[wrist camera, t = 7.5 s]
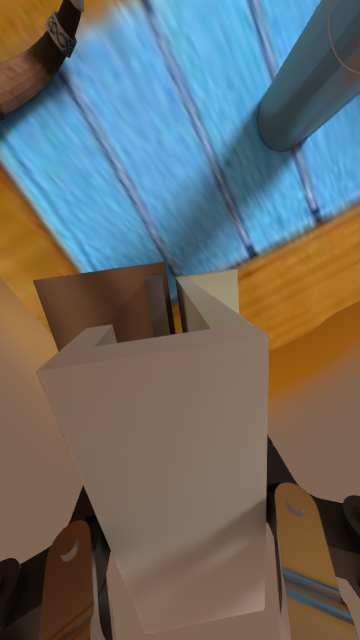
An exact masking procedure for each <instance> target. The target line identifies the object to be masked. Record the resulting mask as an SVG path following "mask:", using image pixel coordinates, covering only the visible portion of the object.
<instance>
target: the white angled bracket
mask: <svg viewBox="0 0 360 640" xmlns="http://www.w3.org/2000/svg"><path fill="white" fill-rule="evenodd" d="M175 279H176V287H177V294H178V301H179V309H180V316H181V324H182V331H183V333H181V334H175V335H168V336H161V337H155V338H148V339H142V340H135V341H128V342H122V343H117V341H116V337H115V333H114V329H113V325H105V326H98V327H91V328H86V329H85V330H84V331H83V332H81V333H80V334H79V335H78V336H77V337H76V338H74V339H73V340H72V341H71V342H70V343H69V344H67V345H66V346H65V347H64V348H63V349H62V350H60V351H59V352H58V353H57V354H56V355H55V356H54V357H52V358H51V359H50V360H49V361H48V362H47V363H45V364H44V365H43V366H42V367H41V368H40V369H38V370H37V371H36V373H37V375H38V378H39V380H40V382H41V385H42V387H43V390H44V392H45V394H46V397H47V399H48V401H49V404H50V406H51V409H52V411H53V413H54V416H55V418H56V421H57V423H58V425H59V428H60V430H61V433H62V435H63V437H64V440H65V442H66V444H67V447H68V449H69V452H70V454H71V456H72V459H73V461H74V464H75V466H76V468H77V471H78V473H79V476H80V478H81V480H82V483H83V485H84V488H85V490H86V492H87V495H88V497H89V500H90V502H91V504H92V507H93V509H94V512H95V514H96V516H97V519H98V521H99V523H100V526H101V528H102V531H103V533H104V535H105V538H106V540H107V543H108V545H109V547H110V550H111V552H112V554H113V557H114V559H115V562H116V564H117V566H118V569H119V571H120V574H121V576H122V578H123V581H124V583H125V586H126V588H127V590H128V593H129V595H130V598H131V600H132V602H133V605H134V607H135V610H136V612H137V614H138V617H139V619H140V622H141V624H142V626H143V629H144V631H145V634H150V633H155V632H160V631H164V630H169V629H174V628H179V627H184V626H188V625H193V624H198V623H203V622H207V621H212V620H217V619H222V618H227V617H232V616H236V615H241V614H246V613H250V612H255V611H260V610H264V608H265V549H266V547H265V546H266V486H267V421H268V420H267V419H268V357H269V356H268V354H269V335H267V334H266V333H264V332H263V331H262V330H260V329H259V328H257V327H256V326H255V325H253V324H252V323H250V322H249V321H247V320H246V319H245V318H243V317H242V316H240V315H239V298H238V270H235V269H229V270H222V271H215V272H208V273H201V274H193V275H186V276H179V277H175Z"/></svg>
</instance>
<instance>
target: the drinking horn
mask: <svg viewBox="0 0 360 640" xmlns="http://www.w3.org/2000/svg"><path fill="white" fill-rule="evenodd" d="M83 11H84V0H63V2H62V4H61V7H60V9H59V11H58V12H56V11H53V13H52V14H51V16H50V18H49V19H48V21H47V23H46V28H47V31H46V33H45V34H44V35H43V36H42V37H41V38H40V39H39V40H38V41H37V42H36V43H35V44H34V45H33V46H31V47H30V48H29V49H28V50H26V51H25V52H23V53H21V54H20V55H18V56H16V57H14V58H12V59H10V60H8V61H5V62H2V63H0V121H2V120H4V117H3V115H5V114H7V113H9V112H11V111H13V110H15V109H16V108H18V107H20V106H21V105H23V104H24V103H26V102H27V101H28V100H30V99H31V98H32V97H34V96H35V95H36V94H37V93H38V92H39V91H41V90H42V89H43V88H44V87H45V86H46V85H47V84H48V82H49V81H50V80H51V79H52V78H53V76H54V75H55V74H56V73H57V71H58V70H59V68H60V66H61V65H62V63H63V61H64V60H65V58H66V56H67V57H68V58H70V56H71V54H72V52H73V50H74V47H75V45H76V43H77V41H76V38H75V34H76V31H77V27H78V24H79V21H80V17H81V12H83Z"/></svg>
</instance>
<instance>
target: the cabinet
mask: <svg viewBox="0 0 360 640" xmlns="http://www.w3.org/2000/svg"><path fill="white" fill-rule="evenodd" d="M33 282H34V285H35V287H36V290H37V293H38V296H39V298H40V301H41V304H42V307H43V309H44V312H45V315H46V318H47V321H48V323H49V326H50V329H51V332H52V334H53V337H54V340H55V343H56V345H57V348H58V351H60V350H62V349H63V348H64V347H65V346H66V345H67V344H69V343H70V342H71V341H72V340H73V339H74V338H76V337H77V336H78V335H79V334H80V333H81V332H83V331H84V330H85V329H86V328H91V327H98V326H105V325H113V329H114V333H115V337H116V341H117V343H122V342H128V341H135V340H142V339H148V338H155V337H161V336H168V335H175V328H174V321H173V315H172V308H171V301H170V294H169V287H168V281H167V274H166V267H165V262H160V263H153V264H146V265H138V266H131V267H124V268H116V269H109V270H102V271H95V272H88V273H81V274H74V275H67V276H60V277H53V278H47V279H40V280H33Z"/></svg>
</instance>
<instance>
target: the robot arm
mask: <svg viewBox="0 0 360 640" xmlns="http://www.w3.org/2000/svg"><path fill="white" fill-rule="evenodd" d="M359 94H360V0H321V1H320V3H319V5H318V6H317V8H316V10H315V11H314V13H313V15H312V16H311V18H310V20H309V21H308V23H307V25H306V26H305V28H304V30H303V31H302V33H301V35H300V36H299V38H298V40H297V41H296V43H295V45H294V46H293V48H292V50H291V51H290V53H289V55H288V56H287V58H286V60H285V61H284V63H283V65H282V66H281V68H280V70H279V71H278V73H277V75H276V76H275V78H274V80H273V82H272V83H271V85H270V87H269V88H268V90H267V92H266V93H265V95H264V97H263V98H262V101H261V103H260V106H259V110H258V119H257V121H258V129H259V133H260V135H261V137H262V139H263V141H264V142H265V143H266V145H268V146H269V147H270V148H272V149H274V150H278V151H285V150H289V149H291V148H293V147H294V146H296V145H297V144H298V143H300V142H301V141H302V140H303V139H304V138H306V137H310V136H311V135H312V134H313V133H314V132H316V131H317V130H318V129H319V128H320V127H321V126H323V125H324V124H325V123H326V122H327V121H328V120H329V119H331V118H332V117H333V116H334V115H335V114H336V113H338V112H339V111H340V110H341V109H342V108H343V107H345V106H346V105H347V104H348V103H349V102H350V101H352V100H353V99H354V98H355V97H356V96H357V95H359ZM266 523H268V524H269V526H270V529H271V531H272V534H273V544H274V556H275V570H276V582H277V594H278V607H279V622H280V640H359V639H358V635H357V632H356V628H355V625H354V622H353V619H352V616H351V613H350V611H349V609H348V607H347V605H346V604H345V602H344V601H343V600H342V597H341V595H340V591H339V588H338V585H337V580H336V577H339V578H343V579H346V580H347V581H348V582H349V584H350V585H351V587H352V588H353V589H354V591H355V592H356V594H357V595H358V597H359V598H360V496H355V495H353V496H348V497H347V498H346V499H345V500H344V502H343V503H338V502H333V501H329V500H324V499H320V498H317V497H314V496H312V495H311V494H309V493H307V492H306V491H305V490H304V489H303V488H301V487H300V486H299V485H298V484H297V483H296V481H295V480H294V479H293V477H292V475H291V474H290V472H289V470H288V468H287V467H286V465H285V463H284V462H283V460H282V458H281V457H280V455H279V453H278V451H277V450H276V448H275V447H274V446H273V443H272V441H271V440H270V438H269V437H268V435H267V486H266ZM110 552H111V550H110V547H109V545H108V543H107V540H106V538H105V535H104V533H103V531H102V528H101V526H100V523H99V521H98V519H97V516H96V514H95V512H94V509H93V507H92V504H91V502H90V500H89V497H88V495H87V492H86V490H85V488H84V485H83V487H82V490H81V492H80V495H79V498H78V501H77V503H76V506H75V509H74V512H73V515H72V517H71V520H70V522H69V524H68V526H66V527H65V528H64V529H63V530H62V531H61V532H60V533H59V534H58V536H57V537H56V538H55V540H54V541H53V543H52V545H51V546H50V547H49V548H47V549H46V550H44V551H42V552H41V553H39V554H37V555H35V556H34V557H32V558H30V559H29V560H27V561H25V562H23V563H22V564H19V562H18V561H17V560H16V559H14V558H8V559H6V560H3V561H1V562H0V640H116V637H115V628H114V619H113V609H112V600H111V591H110V582H109V573H108V568H107V567H108V562H109V557H110ZM335 576H336V577H335Z"/></svg>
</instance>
